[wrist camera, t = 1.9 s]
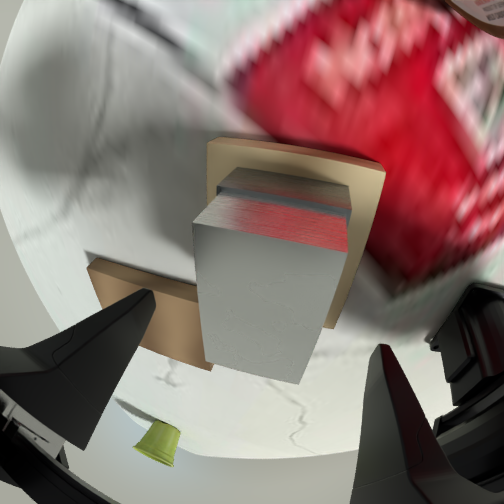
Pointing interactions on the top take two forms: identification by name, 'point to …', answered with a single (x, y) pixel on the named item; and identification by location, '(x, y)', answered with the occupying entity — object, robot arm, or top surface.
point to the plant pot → (159, 443)
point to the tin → (482, 14)
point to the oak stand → (315, 167)
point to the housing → (269, 269)
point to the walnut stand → (157, 310)
